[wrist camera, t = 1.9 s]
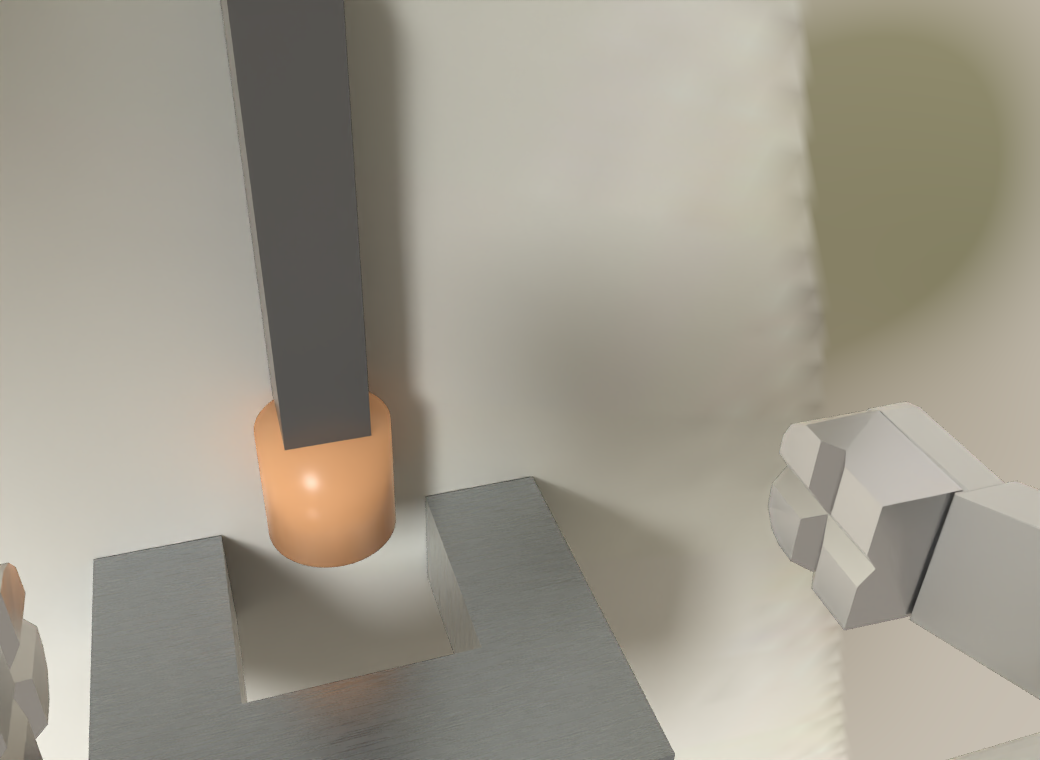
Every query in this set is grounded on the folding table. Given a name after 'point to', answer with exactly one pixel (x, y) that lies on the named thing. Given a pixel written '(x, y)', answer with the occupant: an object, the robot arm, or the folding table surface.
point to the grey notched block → (386, 694)
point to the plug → (309, 283)
